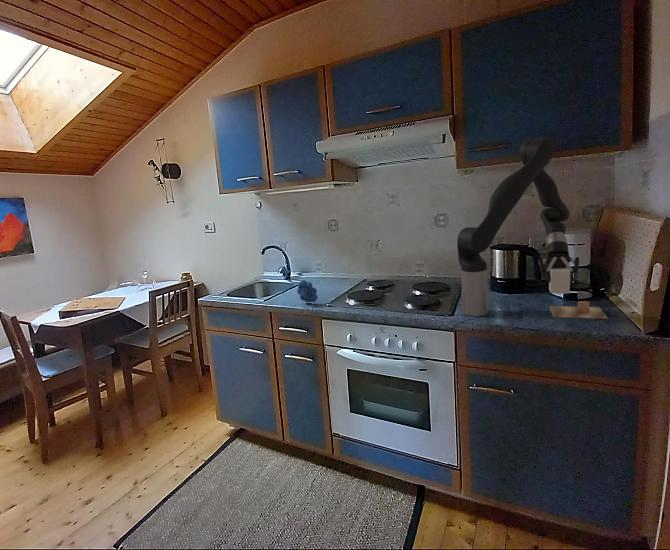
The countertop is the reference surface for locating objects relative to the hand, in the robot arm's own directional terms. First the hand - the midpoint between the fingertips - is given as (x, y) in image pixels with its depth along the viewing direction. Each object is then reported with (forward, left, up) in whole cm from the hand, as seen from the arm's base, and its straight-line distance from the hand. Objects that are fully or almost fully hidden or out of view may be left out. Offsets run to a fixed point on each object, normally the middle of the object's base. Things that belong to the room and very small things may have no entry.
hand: (559, 281), depth 146 cm
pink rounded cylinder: (+6, -10, -9) cm, 15 cm away
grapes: (-107, -6, -10) cm, 107 cm away
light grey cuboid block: (0, +2, -4) cm, 5 cm away
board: (+4, -10, -10) cm, 14 cm away
